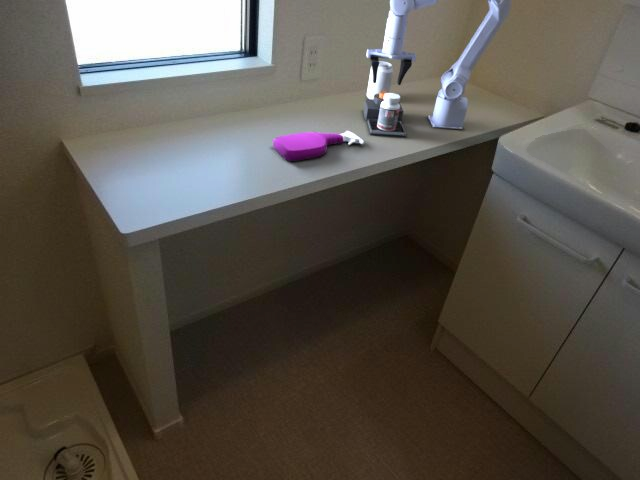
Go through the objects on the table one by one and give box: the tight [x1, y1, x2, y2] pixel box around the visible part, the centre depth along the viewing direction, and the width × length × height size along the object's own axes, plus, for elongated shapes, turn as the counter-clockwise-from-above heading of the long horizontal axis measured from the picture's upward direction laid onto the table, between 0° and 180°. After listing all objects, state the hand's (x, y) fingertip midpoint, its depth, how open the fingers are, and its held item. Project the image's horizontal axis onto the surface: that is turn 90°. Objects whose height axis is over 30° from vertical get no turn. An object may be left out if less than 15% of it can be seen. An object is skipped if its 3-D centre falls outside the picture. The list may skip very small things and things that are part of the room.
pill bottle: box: [377, 92, 401, 131], centre depth 142 cm, size 6×6×10 cm
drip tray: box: [366, 119, 407, 138], centre depth 145 cm, size 10×9×1 cm
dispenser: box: [363, 93, 404, 122], centre depth 152 cm, size 11×9×6 cm
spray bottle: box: [272, 130, 365, 162], centre depth 131 cm, size 3×11×24 cm
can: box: [366, 60, 394, 99], centre depth 162 cm, size 8×8×12 cm
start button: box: [379, 91, 390, 99], centre depth 151 cm, size 3×3×2 cm
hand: (386, 82), depth 148 cm, fingers open, 7 cm apart
